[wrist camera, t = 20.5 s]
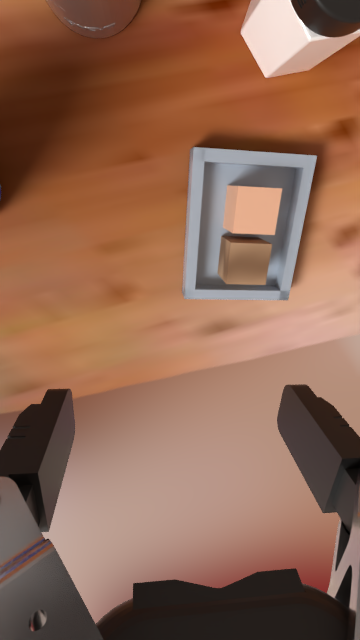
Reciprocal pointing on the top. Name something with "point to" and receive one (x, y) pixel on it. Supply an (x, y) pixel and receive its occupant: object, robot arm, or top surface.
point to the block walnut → (244, 260)
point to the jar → (298, 32)
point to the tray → (207, 228)
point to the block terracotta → (251, 210)
